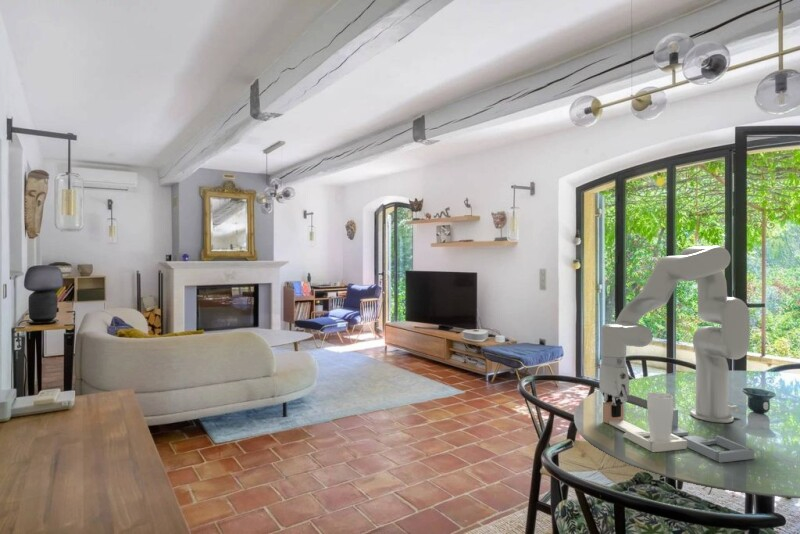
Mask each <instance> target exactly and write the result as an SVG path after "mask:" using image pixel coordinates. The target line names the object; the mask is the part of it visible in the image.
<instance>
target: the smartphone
mask: <svg viewBox="0 0 800 534" xmlns="http://www.w3.org/2000/svg"><path fill="white" fill-rule="evenodd" d="M627 400H628V401H626V402H627V403H629V404H633V405H635V406H639V407H640V408H641V407H642V408H644V409H647V399H644V398H641V397H639V396H636V395H633V394H629V396H628V397H627Z"/></svg>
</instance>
